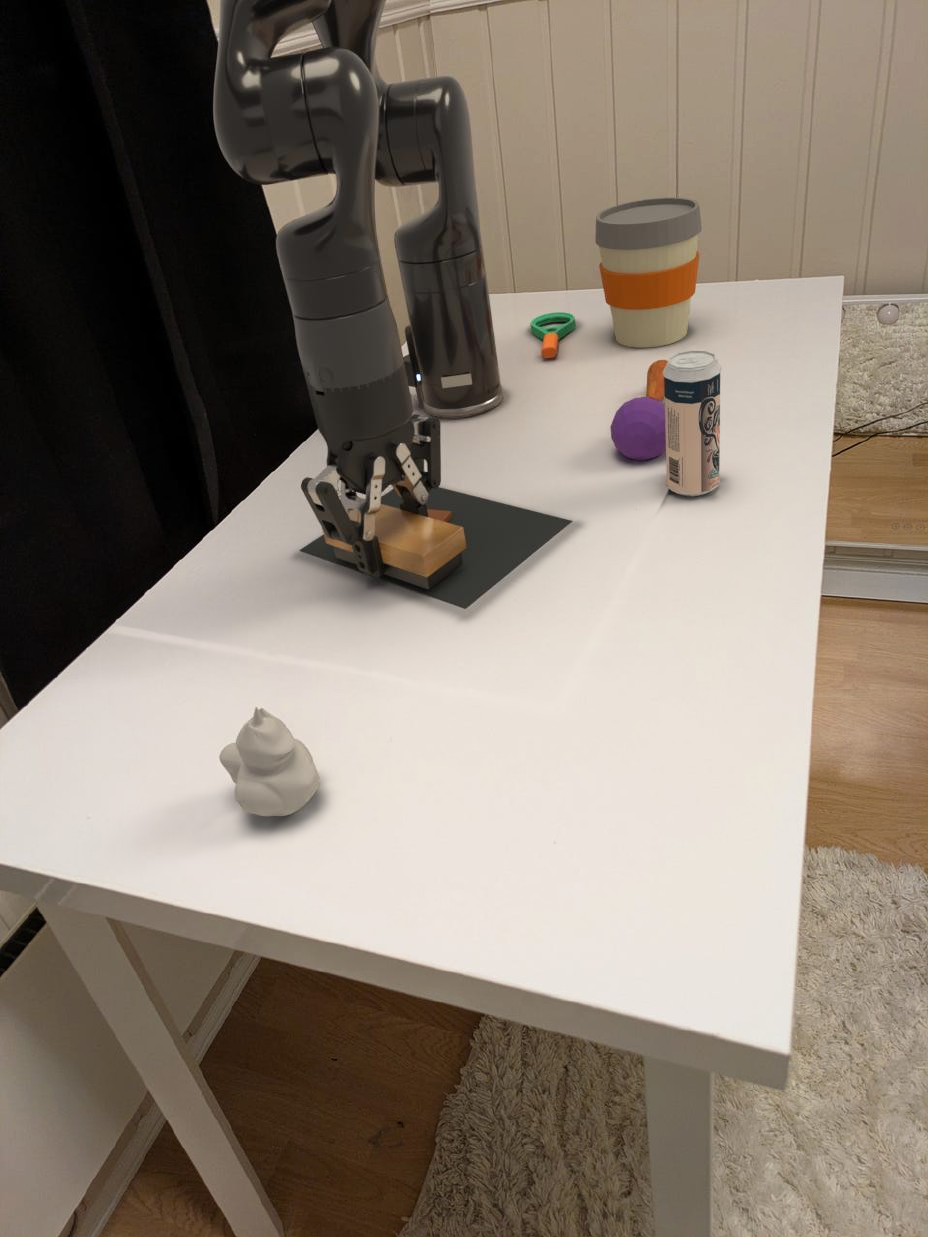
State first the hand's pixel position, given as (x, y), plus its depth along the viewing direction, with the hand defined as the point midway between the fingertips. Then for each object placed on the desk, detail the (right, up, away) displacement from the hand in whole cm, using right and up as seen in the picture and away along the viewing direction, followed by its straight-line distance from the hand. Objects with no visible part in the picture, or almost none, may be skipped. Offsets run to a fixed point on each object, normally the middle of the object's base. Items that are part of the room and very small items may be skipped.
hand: (396, 556), depth 78 cm
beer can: (+27, +7, +5) cm, 28 cm away
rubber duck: (-6, -17, -19) cm, 26 cm away
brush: (0, 0, 0) cm, 0 cm away
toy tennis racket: (+18, +32, +43) cm, 56 cm away
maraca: (+25, +15, +17) cm, 34 cm away
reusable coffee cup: (+30, +31, +39) cm, 58 cm away
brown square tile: (+2, +3, +6) cm, 7 cm away
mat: (+3, +2, +4) cm, 5 cm away
